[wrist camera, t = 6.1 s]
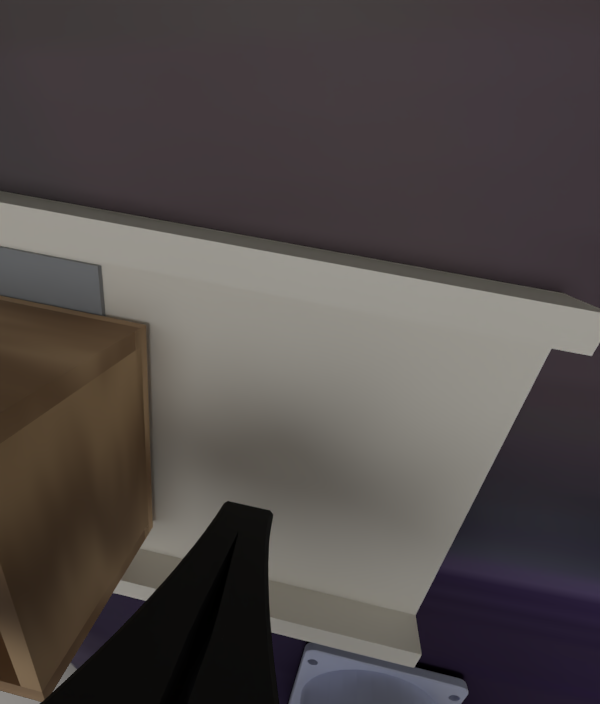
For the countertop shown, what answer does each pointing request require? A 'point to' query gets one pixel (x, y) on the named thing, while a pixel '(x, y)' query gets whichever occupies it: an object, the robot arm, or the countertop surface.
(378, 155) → the countertop surface
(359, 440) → the tray
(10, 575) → the crate
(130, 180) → the countertop surface
